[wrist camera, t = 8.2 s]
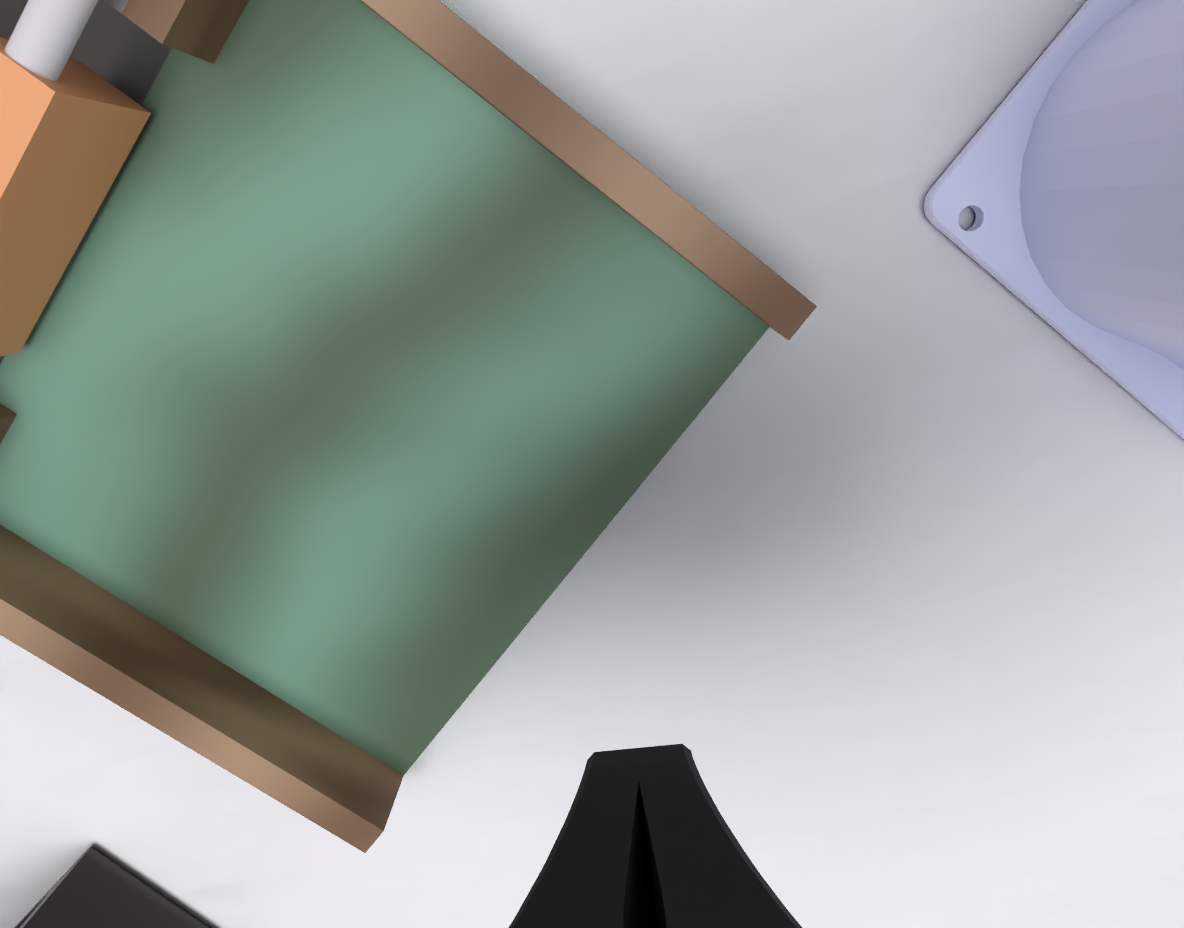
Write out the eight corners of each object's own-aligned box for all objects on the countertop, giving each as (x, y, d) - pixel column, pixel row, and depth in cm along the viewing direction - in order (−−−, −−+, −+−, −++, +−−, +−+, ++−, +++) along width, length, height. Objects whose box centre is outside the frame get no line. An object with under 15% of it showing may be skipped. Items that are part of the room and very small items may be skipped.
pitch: (784, 292, 19) (816, 307, 16) (396, 771, 22) (365, 853, 20) (-138, -452, 15) (-313, -608, 12) (-411, 269, 19) (-594, 279, 16)
